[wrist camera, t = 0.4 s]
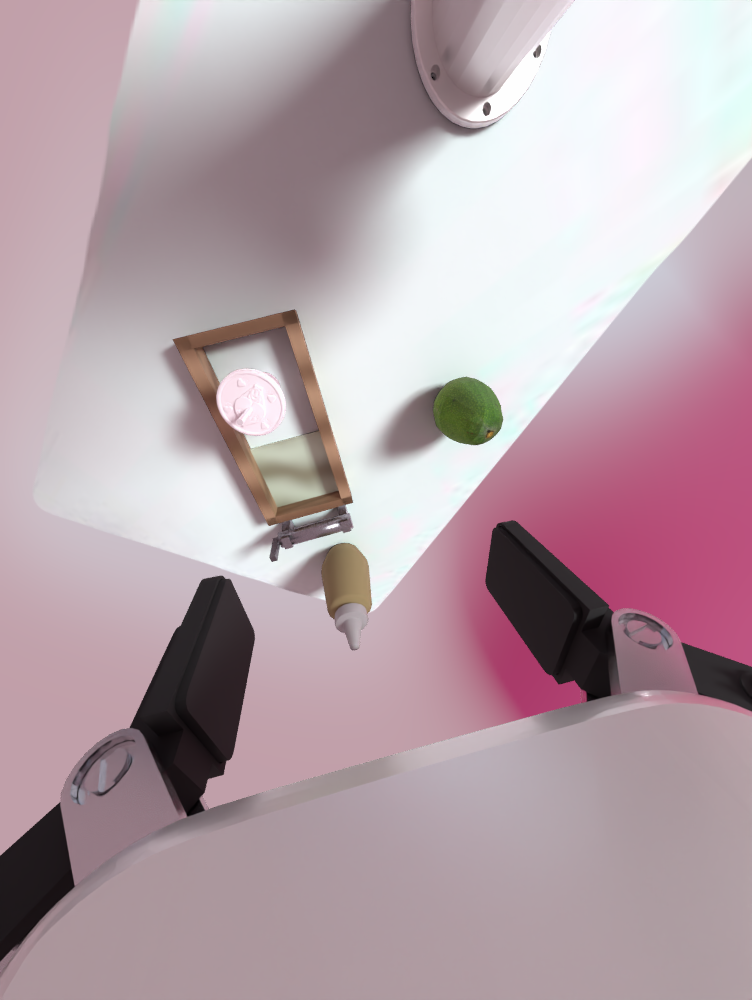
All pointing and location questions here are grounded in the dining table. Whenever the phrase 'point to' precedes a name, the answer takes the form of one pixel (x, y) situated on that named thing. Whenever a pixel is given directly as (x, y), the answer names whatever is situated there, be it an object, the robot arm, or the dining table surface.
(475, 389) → the avocado
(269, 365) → the dining table surface
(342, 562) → the squeeze bottle
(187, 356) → the bay
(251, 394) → the smoothie
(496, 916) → the robot arm
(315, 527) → the grey metal handle
